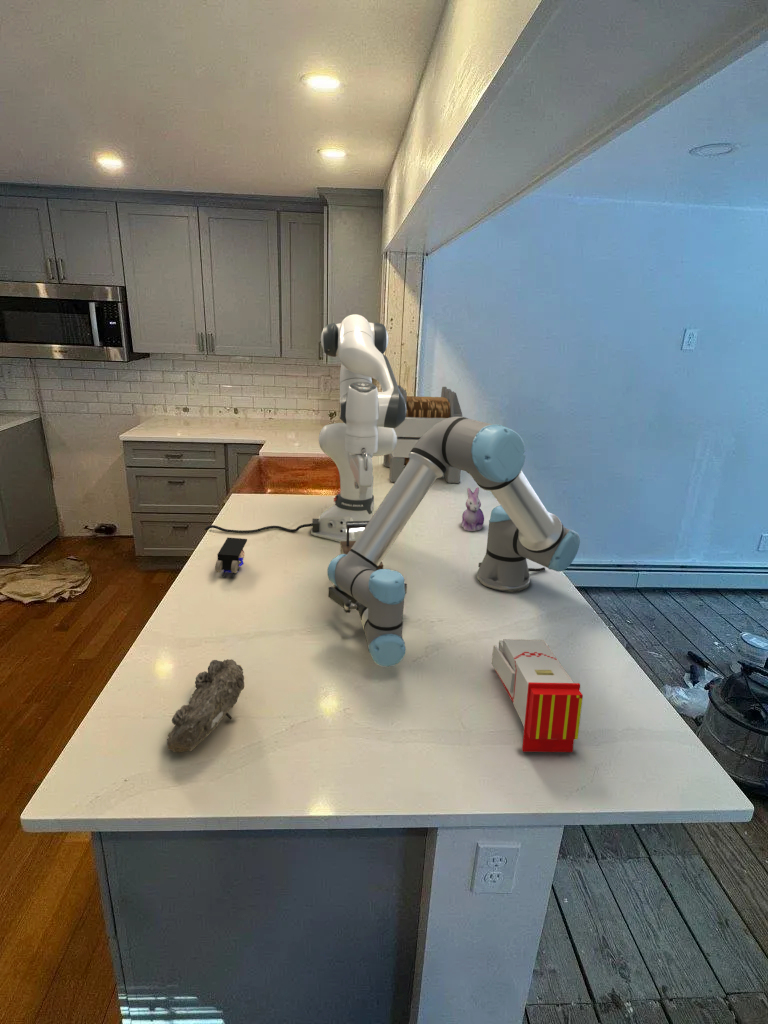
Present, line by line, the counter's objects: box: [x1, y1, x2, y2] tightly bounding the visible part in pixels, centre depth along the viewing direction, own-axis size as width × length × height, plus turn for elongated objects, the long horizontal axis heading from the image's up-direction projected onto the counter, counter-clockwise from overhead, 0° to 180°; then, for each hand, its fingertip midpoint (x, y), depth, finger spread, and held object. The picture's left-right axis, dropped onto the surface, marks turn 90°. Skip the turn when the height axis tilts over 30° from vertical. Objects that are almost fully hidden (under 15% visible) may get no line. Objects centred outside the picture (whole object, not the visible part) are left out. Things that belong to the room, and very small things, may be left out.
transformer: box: [383, 384, 463, 484], centre depth 268 cm, size 34×33×41 cm
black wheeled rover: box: [214, 537, 248, 578], centre depth 166 cm, size 7×8×15 cm
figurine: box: [461, 486, 485, 532], centre depth 206 cm, size 9×10×15 cm
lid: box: [339, 521, 384, 569], centre depth 157 cm, size 17×10×8 cm, turn 10°
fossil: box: [166, 658, 245, 754], centre depth 106 cm, size 22×10×15 cm
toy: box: [491, 638, 584, 753], centre depth 114 cm, size 12×13×30 cm
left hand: (359, 493), depth 157 cm, fingers open, 8 cm apart
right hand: (363, 576), depth 152 cm, fingers open, 13 cm apart
